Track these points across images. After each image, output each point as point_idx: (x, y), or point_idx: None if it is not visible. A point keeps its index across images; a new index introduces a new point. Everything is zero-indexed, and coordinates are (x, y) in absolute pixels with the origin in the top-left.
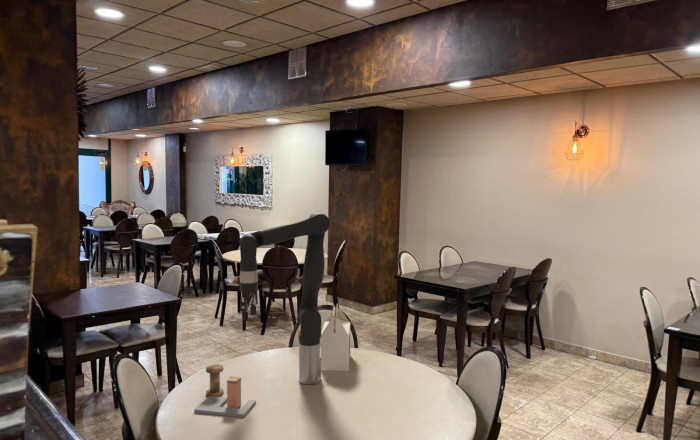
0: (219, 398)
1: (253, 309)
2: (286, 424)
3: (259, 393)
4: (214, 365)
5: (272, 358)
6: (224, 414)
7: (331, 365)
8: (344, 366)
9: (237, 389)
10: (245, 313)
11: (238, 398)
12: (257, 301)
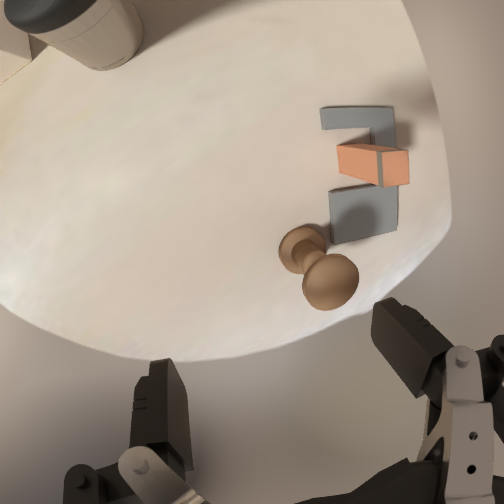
0: (340, 211)
1: (176, 425)
2: (378, 12)
3: (257, 129)
4: (317, 297)
5: (16, 256)
6: None
7: (20, 31)
8: None
9: (386, 147)
10: (449, 348)
11: (363, 145)
12: (70, 497)
